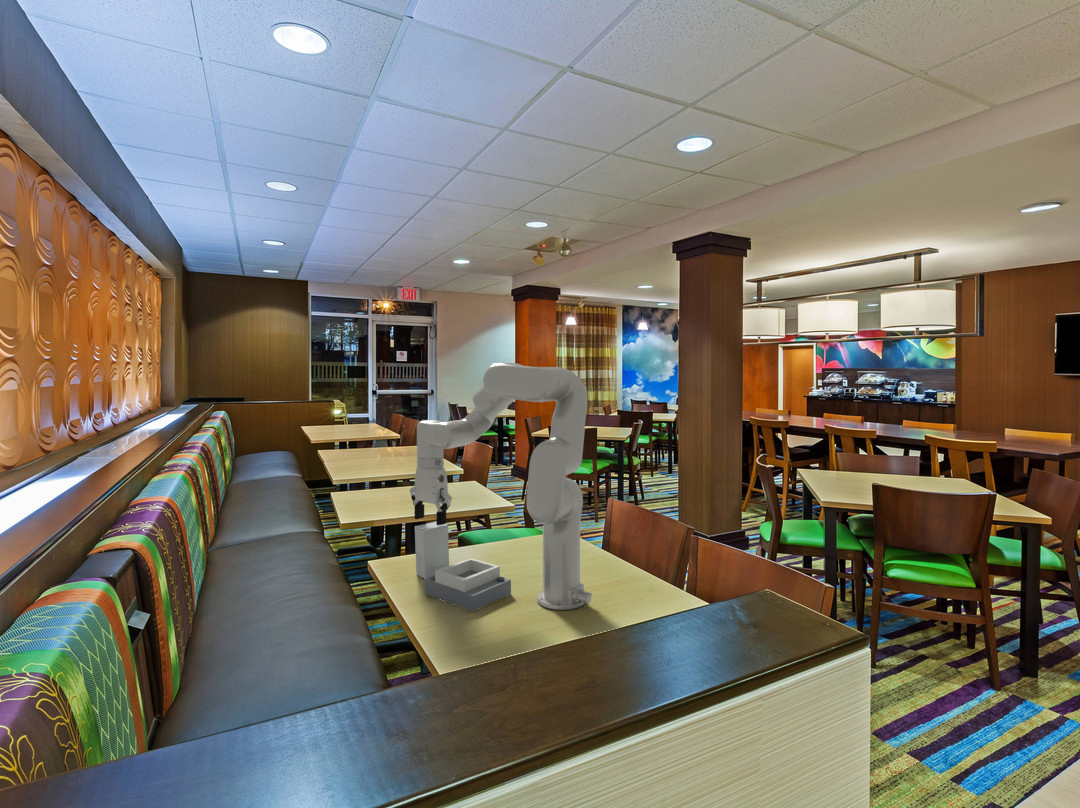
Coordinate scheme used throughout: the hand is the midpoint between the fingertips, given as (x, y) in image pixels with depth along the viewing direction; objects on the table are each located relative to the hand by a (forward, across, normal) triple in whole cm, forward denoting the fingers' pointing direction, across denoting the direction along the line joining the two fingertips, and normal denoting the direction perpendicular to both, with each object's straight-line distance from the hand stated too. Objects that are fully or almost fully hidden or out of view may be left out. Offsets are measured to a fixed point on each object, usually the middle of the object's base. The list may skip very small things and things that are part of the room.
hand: (430, 521), depth 164 cm
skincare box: (+16, -1, 0) cm, 16 cm away
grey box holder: (+15, -20, +4) cm, 25 cm away
